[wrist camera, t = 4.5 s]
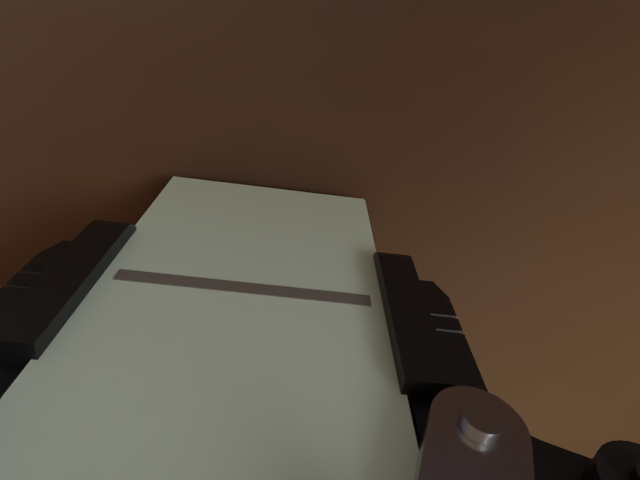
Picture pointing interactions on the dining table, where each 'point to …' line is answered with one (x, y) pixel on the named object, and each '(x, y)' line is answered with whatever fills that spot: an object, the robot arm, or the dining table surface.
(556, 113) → the dining table surface
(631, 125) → the dining table surface
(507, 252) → the dining table surface
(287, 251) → the domino
